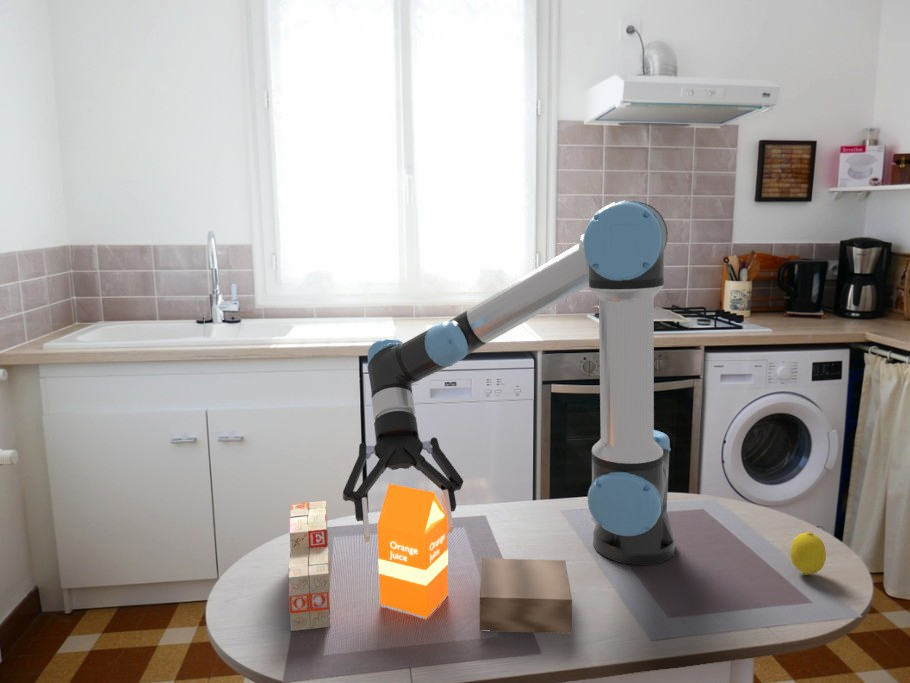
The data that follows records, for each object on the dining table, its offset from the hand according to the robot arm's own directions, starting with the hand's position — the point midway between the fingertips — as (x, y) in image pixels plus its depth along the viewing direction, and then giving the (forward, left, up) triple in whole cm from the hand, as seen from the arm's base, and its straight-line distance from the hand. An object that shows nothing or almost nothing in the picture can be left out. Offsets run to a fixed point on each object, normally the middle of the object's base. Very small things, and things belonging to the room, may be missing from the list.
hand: (409, 534), depth 114 cm
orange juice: (-1, 0, -12) cm, 12 cm away
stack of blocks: (+17, -3, -12) cm, 21 cm away
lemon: (-69, -10, -12) cm, 70 cm away
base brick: (-19, +2, -12) cm, 22 cm away
